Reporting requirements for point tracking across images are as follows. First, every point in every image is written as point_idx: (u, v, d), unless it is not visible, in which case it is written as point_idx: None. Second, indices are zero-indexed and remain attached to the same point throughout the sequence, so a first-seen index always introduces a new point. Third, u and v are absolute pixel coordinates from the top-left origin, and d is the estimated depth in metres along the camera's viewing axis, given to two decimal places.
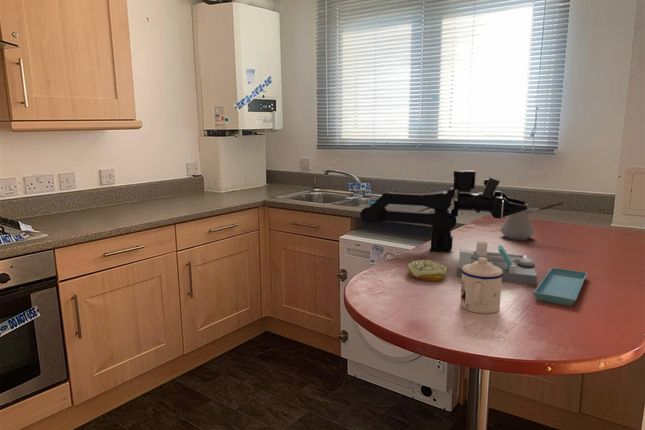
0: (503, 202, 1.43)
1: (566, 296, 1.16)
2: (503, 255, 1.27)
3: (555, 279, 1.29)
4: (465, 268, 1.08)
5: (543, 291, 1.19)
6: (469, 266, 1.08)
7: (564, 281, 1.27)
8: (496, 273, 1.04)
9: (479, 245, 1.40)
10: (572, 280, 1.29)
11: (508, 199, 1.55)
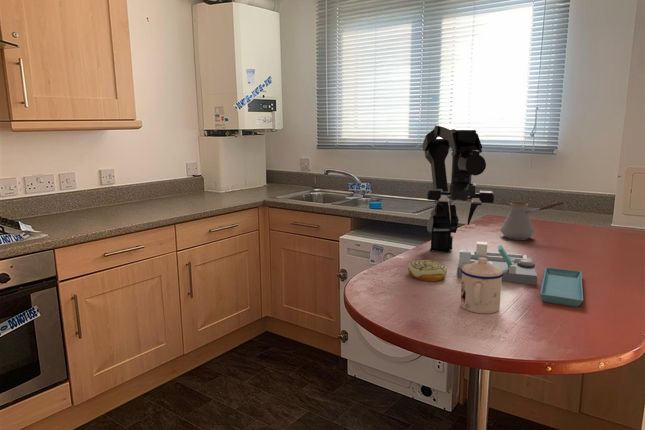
0: (438, 200, 1.42)
1: (570, 296, 1.15)
2: (503, 255, 1.27)
3: (551, 278, 1.30)
4: (465, 268, 1.08)
5: (546, 292, 1.18)
6: (469, 266, 1.08)
7: (561, 281, 1.28)
8: (496, 273, 1.04)
9: (479, 245, 1.40)
10: (568, 279, 1.29)
11: (470, 208, 1.40)
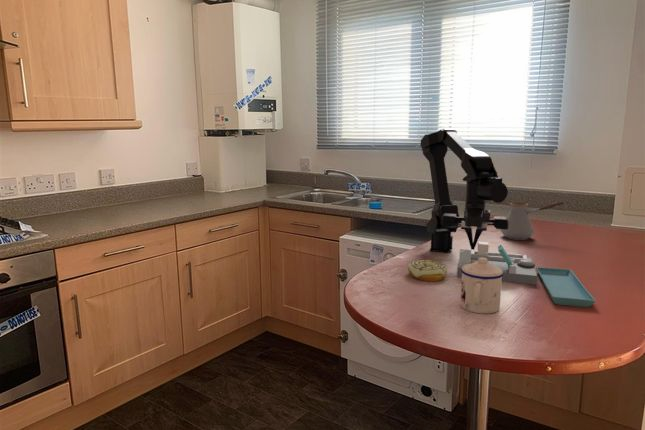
0: (461, 226, 1.41)
1: (576, 297, 1.15)
2: (503, 255, 1.27)
3: (546, 278, 1.30)
4: (465, 268, 1.08)
5: (552, 293, 1.17)
6: (469, 266, 1.08)
7: (556, 280, 1.28)
8: (496, 273, 1.04)
9: (480, 245, 1.40)
10: (561, 278, 1.30)
11: (475, 233, 1.41)
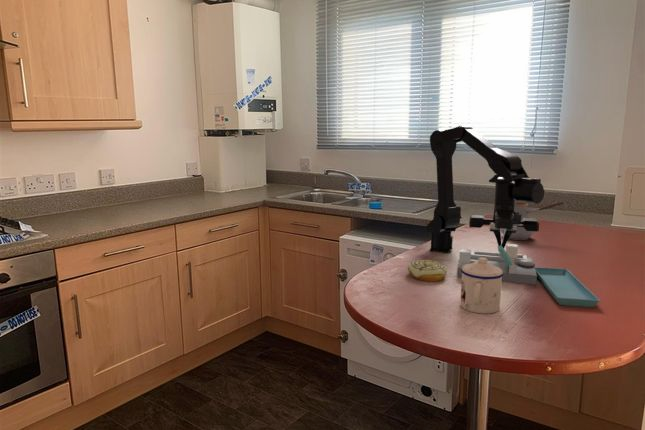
0: (490, 228, 1.38)
1: (578, 297, 1.15)
2: (503, 255, 1.27)
3: (544, 279, 1.29)
4: (465, 268, 1.08)
5: None
6: (469, 266, 1.08)
7: (554, 280, 1.28)
8: (496, 273, 1.04)
9: (509, 247, 1.38)
10: (559, 277, 1.30)
11: (504, 235, 1.38)
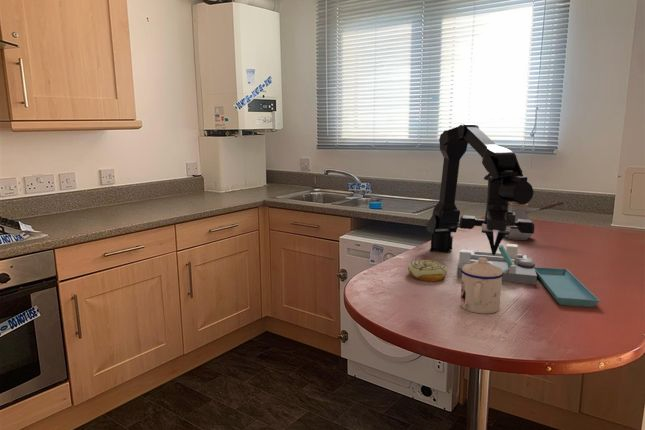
0: (482, 230, 1.29)
1: (578, 297, 1.15)
2: (504, 255, 1.27)
3: (544, 278, 1.30)
4: (465, 268, 1.08)
5: None
6: (469, 266, 1.08)
7: (554, 280, 1.28)
8: (496, 273, 1.04)
9: (509, 247, 1.38)
10: (558, 277, 1.30)
11: (496, 237, 1.29)
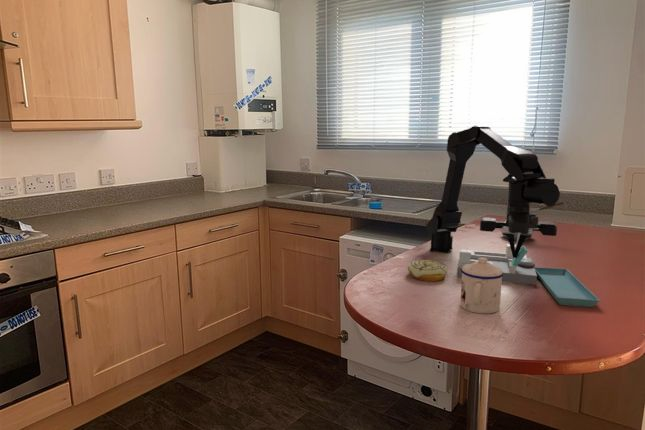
0: (502, 232, 1.27)
1: (578, 296, 1.15)
2: (521, 255, 1.26)
3: (544, 278, 1.30)
4: (465, 268, 1.08)
5: None
6: (469, 266, 1.08)
7: (554, 280, 1.28)
8: (496, 273, 1.04)
9: (509, 247, 1.38)
10: (558, 277, 1.30)
11: (518, 240, 1.27)
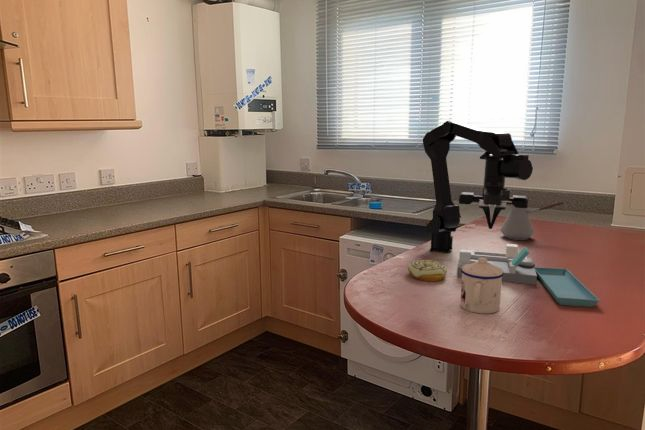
0: (479, 205, 1.39)
1: (578, 296, 1.15)
2: (522, 256, 1.26)
3: (544, 278, 1.30)
4: (465, 268, 1.08)
5: None
6: (469, 266, 1.08)
7: (554, 280, 1.28)
8: (496, 273, 1.04)
9: (509, 247, 1.38)
10: (558, 277, 1.30)
11: (493, 212, 1.39)
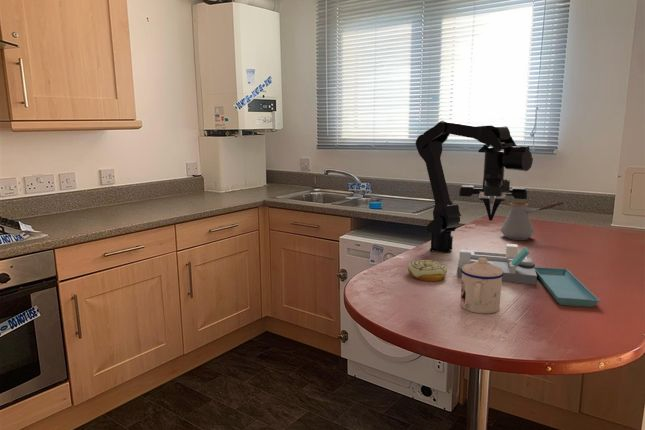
0: (479, 197, 1.42)
1: (578, 296, 1.15)
2: (522, 256, 1.26)
3: (544, 278, 1.30)
4: (465, 268, 1.08)
5: None
6: (469, 266, 1.08)
7: (554, 280, 1.28)
8: (496, 273, 1.04)
9: (509, 247, 1.38)
10: (558, 277, 1.30)
11: (493, 204, 1.42)
